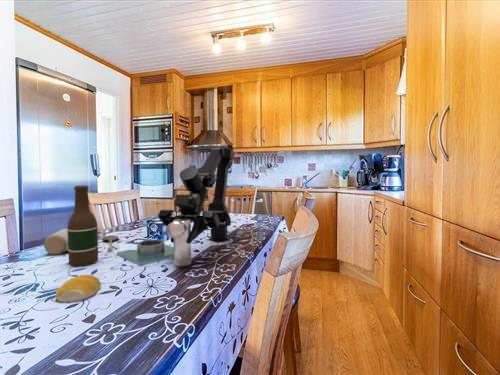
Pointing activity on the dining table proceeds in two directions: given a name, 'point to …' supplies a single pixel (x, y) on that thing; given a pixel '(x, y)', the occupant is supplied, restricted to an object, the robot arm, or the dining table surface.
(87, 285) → the bread roll
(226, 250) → the dining table surface
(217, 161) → the robot arm
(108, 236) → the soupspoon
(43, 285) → the dining table surface
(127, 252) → the duct collar
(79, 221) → the beer bottle
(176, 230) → the metal bottle
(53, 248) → the beige cylinder
